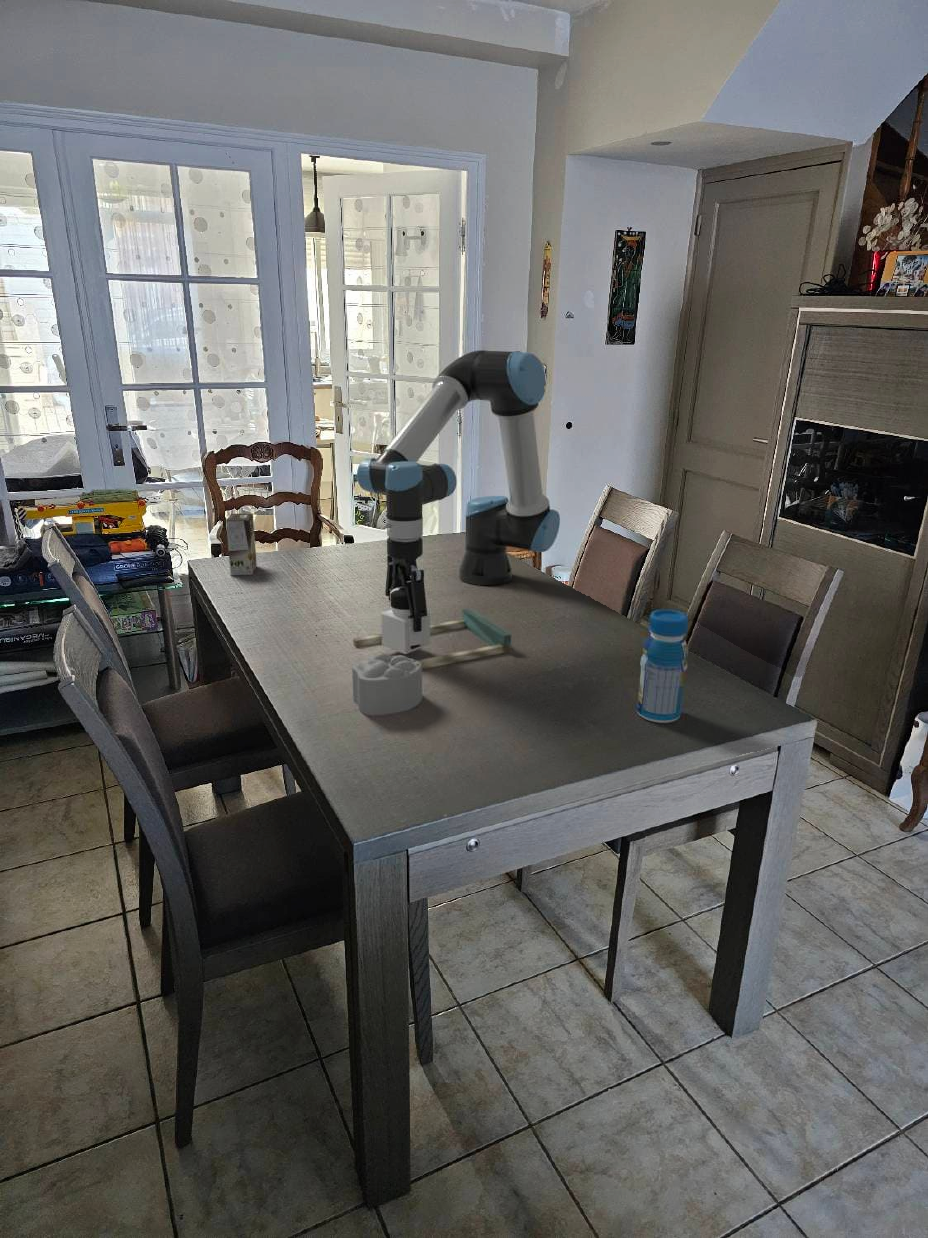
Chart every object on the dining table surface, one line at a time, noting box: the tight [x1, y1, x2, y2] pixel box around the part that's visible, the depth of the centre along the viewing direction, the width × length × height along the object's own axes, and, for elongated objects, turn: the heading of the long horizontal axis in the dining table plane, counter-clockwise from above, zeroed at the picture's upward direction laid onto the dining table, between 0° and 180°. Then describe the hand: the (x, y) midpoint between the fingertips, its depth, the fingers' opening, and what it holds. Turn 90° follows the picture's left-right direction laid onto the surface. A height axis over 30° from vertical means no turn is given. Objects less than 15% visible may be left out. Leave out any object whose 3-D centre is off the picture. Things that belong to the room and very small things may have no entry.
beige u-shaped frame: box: [352, 608, 512, 670], centre depth 179 cm, size 30×19×4 cm, turn 119°
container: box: [380, 587, 431, 655], centre depth 174 cm, size 8×8×13 cm
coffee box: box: [225, 512, 258, 576], centre depth 228 cm, size 9×6×16 cm
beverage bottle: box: [635, 608, 689, 724], centre depth 147 cm, size 8×8×20 cm
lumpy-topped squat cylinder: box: [351, 652, 423, 716], centre depth 153 cm, size 10×13×9 cm
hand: (405, 636), depth 175 cm, fingers closed on container, 9 cm apart
